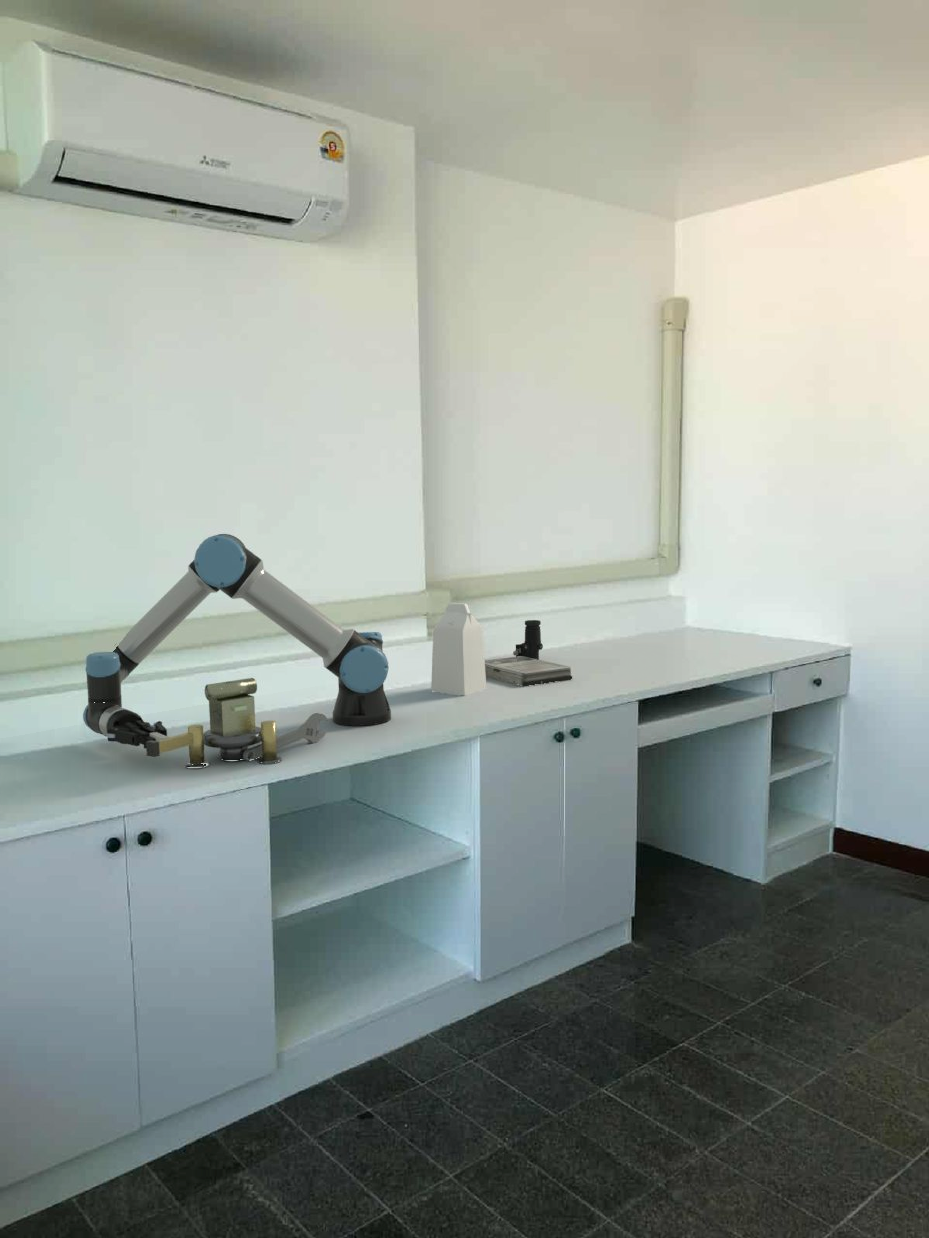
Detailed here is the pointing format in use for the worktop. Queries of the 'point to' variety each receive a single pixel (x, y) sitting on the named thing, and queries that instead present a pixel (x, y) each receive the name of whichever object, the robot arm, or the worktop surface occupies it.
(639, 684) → the worktop surface
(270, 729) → the surveying level
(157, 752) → the lever
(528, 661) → the hard drive
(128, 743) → the robot arm
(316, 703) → the worktop surface
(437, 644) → the milk
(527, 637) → the scope
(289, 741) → the adjustable wrench
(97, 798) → the worktop surface
